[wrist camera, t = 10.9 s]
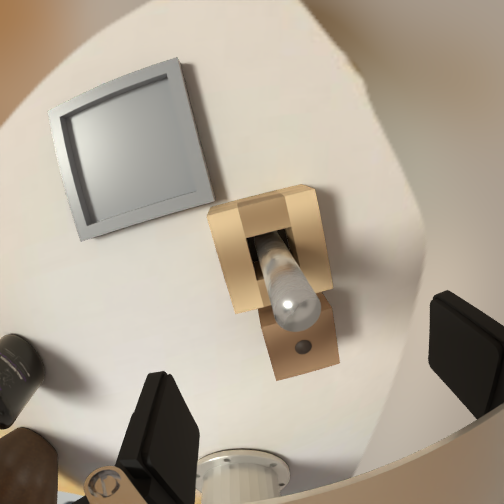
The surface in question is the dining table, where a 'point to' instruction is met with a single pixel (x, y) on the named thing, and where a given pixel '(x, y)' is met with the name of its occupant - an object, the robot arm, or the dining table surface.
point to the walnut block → (300, 343)
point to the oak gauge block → (263, 221)
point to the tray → (130, 151)
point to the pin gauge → (286, 284)
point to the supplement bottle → (17, 377)
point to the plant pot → (27, 469)
